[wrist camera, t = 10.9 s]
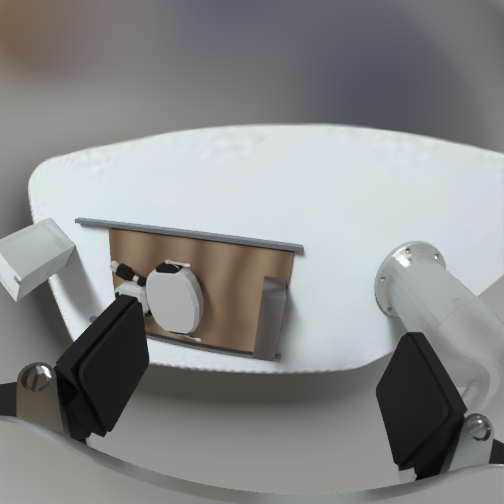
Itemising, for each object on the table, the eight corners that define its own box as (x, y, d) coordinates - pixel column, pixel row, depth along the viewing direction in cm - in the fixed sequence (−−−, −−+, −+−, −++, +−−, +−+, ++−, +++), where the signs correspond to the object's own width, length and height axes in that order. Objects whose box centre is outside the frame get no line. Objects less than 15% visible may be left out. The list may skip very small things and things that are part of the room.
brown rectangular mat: (293, 251, 37) (296, 270, 31) (274, 352, 43) (273, 380, 37) (110, 227, 39) (86, 240, 33) (120, 322, 45) (103, 343, 39)
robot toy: (133, 316, 45) (212, 327, 42) (119, 330, 40) (202, 345, 38) (118, 251, 40) (203, 254, 38) (101, 261, 36) (191, 266, 34)
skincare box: (42, 238, 41) (-12, 267, 27) (51, 215, 39) (-9, 240, 25) (68, 267, 43) (15, 304, 29) (78, 245, 41) (19, 280, 27)
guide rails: (302, 245, 37) (303, 247, 36) (280, 357, 44) (279, 362, 43) (79, 217, 39) (74, 219, 38) (93, 318, 46) (89, 321, 45)
